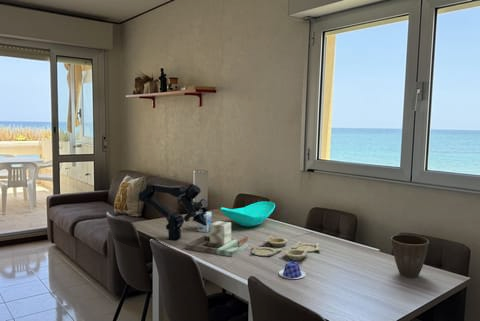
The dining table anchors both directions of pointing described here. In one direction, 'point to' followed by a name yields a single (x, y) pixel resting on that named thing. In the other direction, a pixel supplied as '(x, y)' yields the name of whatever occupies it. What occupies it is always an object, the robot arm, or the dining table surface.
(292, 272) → the purple patterned hat
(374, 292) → the dining table surface
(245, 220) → the table top decor
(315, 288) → the dining table surface
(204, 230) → the light bulb box
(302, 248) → the tableware set
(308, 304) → the dining table surface
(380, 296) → the dining table surface
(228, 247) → the board
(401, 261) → the plant pot
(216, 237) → the ash block
